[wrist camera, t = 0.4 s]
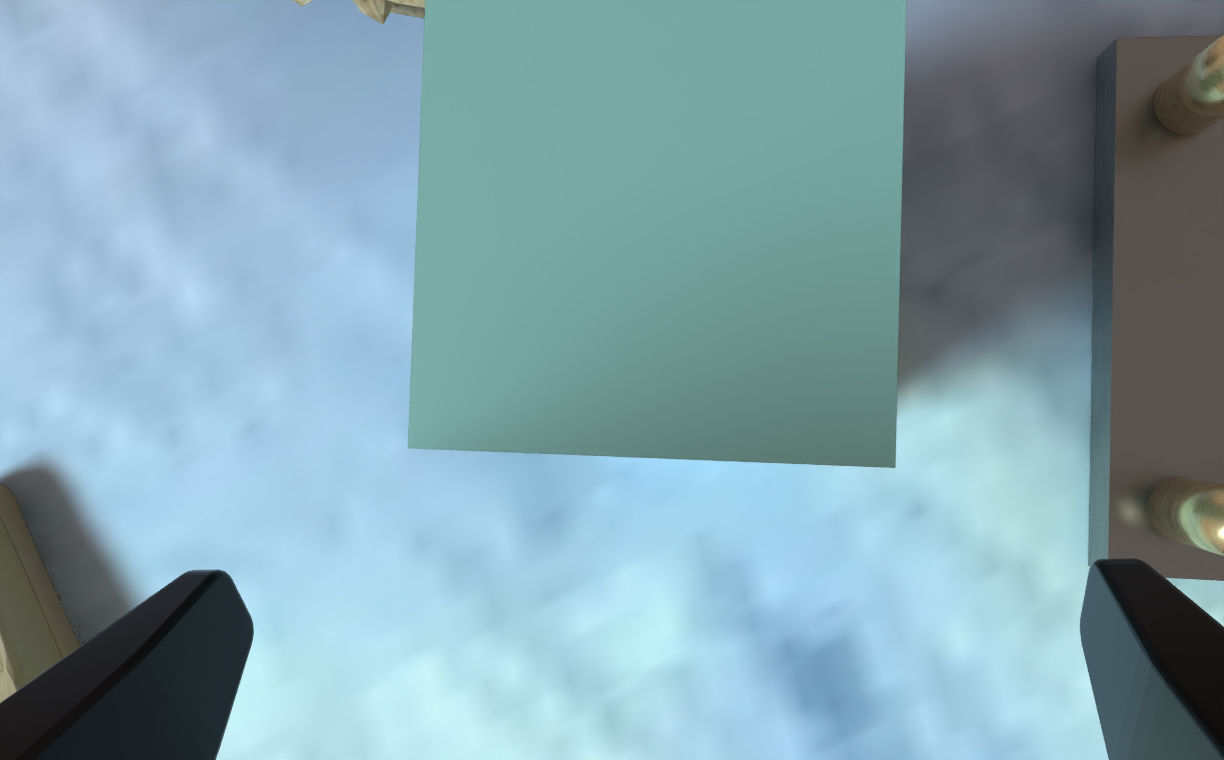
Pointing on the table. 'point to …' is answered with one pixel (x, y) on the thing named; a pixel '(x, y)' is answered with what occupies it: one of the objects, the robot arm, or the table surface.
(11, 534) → the computer
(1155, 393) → the plate
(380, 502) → the table surface
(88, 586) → the table surface
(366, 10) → the pine cone
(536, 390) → the teal block
